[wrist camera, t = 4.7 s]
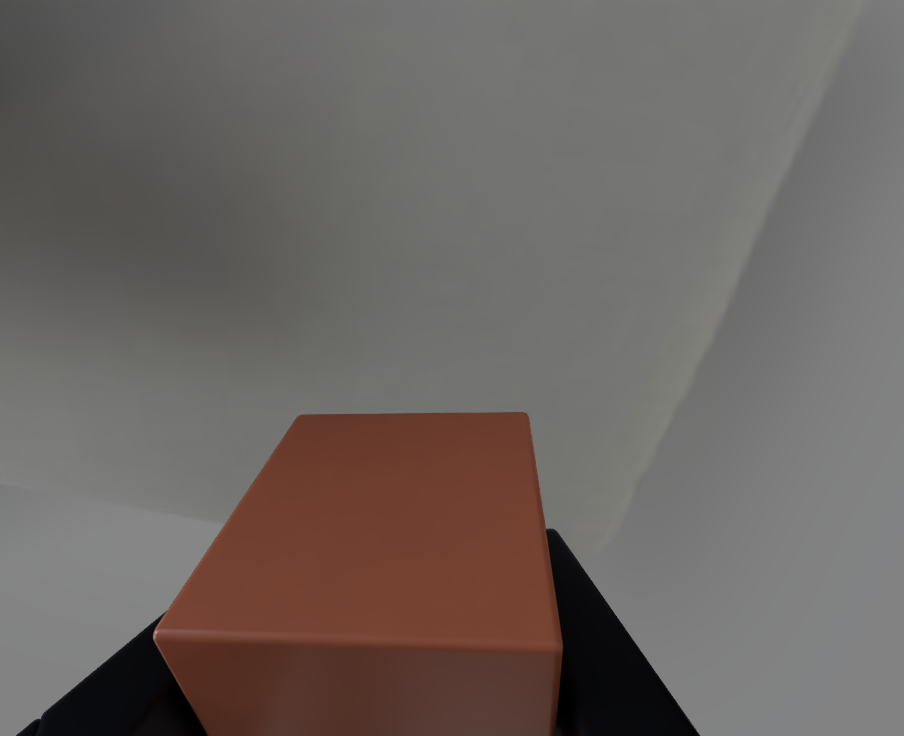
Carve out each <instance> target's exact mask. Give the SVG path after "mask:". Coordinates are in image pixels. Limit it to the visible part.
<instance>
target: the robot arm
mask: <svg viewBox="0 0 904 736" xmlns="http://www.w3.org/2000/svg"><path fill="white" fill-rule="evenodd" d="M546 535H547V541H548V548H549V555H550V561H551V568H552V575H553V581H554V588H555V595H556V601H557V608H558V615H559V621H560V628H561V635H562V641H563V654H562V665H561V676H560V687H559V698H558V709H557V720H556V732H555V736H700V735H699V733H698V732H697V731H696V729H695V728H694V726H693V725H692V723H691V722H690V721H689V719H688V718H687V716H686V715H685V714H684V712H683V711H682V709H681V708H680V706H679V705H678V703H677V702H676V701H675V699H674V698H673V696H672V695H671V693H670V692H669V691H668V689H667V688H666V686H665V685H664V683H663V682H662V681H661V679H660V678H659V676H658V675H657V673H656V672H655V671H654V669H653V668H652V666H651V665H650V664H649V662H648V661H647V659H646V658H645V656H644V655H643V653H642V652H641V651H640V649H639V648H638V646H637V645H636V643H635V642H634V641H633V639H632V638H631V636H630V635H629V633H628V632H627V631H626V629H625V628H624V626H623V625H622V623H621V622H620V621H619V619H618V618H617V616H616V615H615V613H614V612H613V611H612V609H611V608H610V606H609V605H608V603H607V602H606V601H605V599H604V598H603V596H602V595H601V593H600V592H599V591H598V589H597V588H596V586H595V585H594V583H593V582H592V580H591V579H590V578H589V576H588V575H587V573H586V572H585V571H584V569H583V568H582V566H581V565H580V563H579V562H578V560H577V559H576V558H575V556H574V555H573V553H572V552H571V550H570V549H569V548H568V546H567V545H566V543H565V542H564V540H563V539H562V538H561V536H560V535H559V533H558V532H557V531H556V530H554V529H546ZM166 612H167V611H166ZM166 612H165V613H166ZM165 613H164V614H162V615H161V616H160V617H159V618H158V619H156V620H155V621H154V622H153V623H151V624H150V625H149V626H148V627H147V628H145V629H144V630H143V631H142V632H141V633H139V634H138V635H137V636H136V637H135V638H133V639H132V640H131V641H130V642H129V643H127V644H126V645H125V646H124V647H123V648H121V649H120V650H119V651H118V652H117V653H115V654H114V655H113V656H112V657H110V658H109V659H108V660H107V661H106V662H104V663H103V664H102V665H101V666H100V667H99V668H97V669H96V670H95V671H94V672H92V673H91V674H90V675H89V676H88V677H86V678H85V679H84V680H83V681H82V682H80V683H79V684H78V685H77V686H76V687H74V688H73V689H72V690H71V691H70V692H68V693H67V694H66V695H65V696H63V697H62V698H61V699H60V700H59V701H58V702H56V703H55V704H54V705H53V706H51V707H50V708H49V709H48V710H47V711H46V712H44V713H43V715H42V717H41V719H36V720H34V721H33V722H32V723H31V724H29V725H28V726H27V727H26V728H25V729H24V730H22V731H21V732H20V733H19V734H17V735H16V736H207V734H206V732H205V730H204V729H203V727H202V725H201V723H200V722H199V720H198V718H197V716H196V714H195V713H194V711H193V709H192V707H191V706H190V704H189V702H188V700H187V698H186V697H185V695H184V693H183V691H182V690H181V688H180V686H179V684H178V683H177V681H176V679H175V677H174V675H173V674H172V672H171V670H170V668H169V667H168V665H167V663H166V661H165V659H164V658H163V656H162V654H161V652H160V651H159V649H158V647H157V645H156V644H155V642H154V640H153V634H154V631H155V628H156V627H157V625H158V624H159V622H160V621H161V619H162V618H163V616H164V615H165Z"/></svg>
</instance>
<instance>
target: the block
mask: <svg viewBox="0 0 904 736" xmlns="http://www.w3.org/2000/svg"><path fill="white" fill-rule="evenodd" d="M153 640H154V642H155V644H156V645H157V647H158V649H159V651H160V652H161V654H162V656H163V658H164V659H165V661H166V663H167V665H168V667H169V668H170V670H171V672H172V674H173V675H174V677H175V679H176V681H177V683H178V684H179V686H180V688H181V690H182V691H183V693H184V695H185V697H186V698H187V700H188V702H189V704H190V706H191V707H192V709H193V711H194V713H195V714H196V716H197V718H198V720H199V722H200V723H201V725H202V727H203V729H204V730H205V732H206V734H207V736H555V732H556V720H557V709H558V698H559V687H560V676H561V665H562V654H563V641H562V635H561V628H560V621H559V615H558V608H557V601H556V595H555V588H554V581H553V575H552V568H551V561H550V555H549V548H548V541H547V535H546V528H545V521H544V515H543V508H542V501H541V495H540V488H539V481H538V475H537V468H536V461H535V455H534V448H533V441H532V435H531V428H530V421H529V417H528V415H527V413H524V412H504V413H406V414H307V415H299V416H297V417H296V419H295V420H294V422H293V423H292V425H291V426H290V428H289V429H288V431H287V432H286V434H285V435H284V437H283V438H282V440H281V441H280V443H279V444H278V446H277V447H276V449H275V450H274V452H273V453H272V455H271V456H270V458H269V459H268V461H267V462H266V464H265V465H264V467H263V468H262V470H261V471H260V473H259V474H258V476H257V477H256V479H255V480H254V482H253V483H252V485H251V486H250V488H249V489H248V491H247V492H246V494H245V495H244V497H243V498H242V500H241V501H240V503H239V504H238V506H237V507H236V509H235V510H234V512H233V513H232V515H231V516H230V518H229V519H228V521H227V522H226V524H225V525H224V527H223V528H222V530H221V531H220V532H219V534H218V536H217V537H216V538H215V540H214V542H213V543H212V544H211V546H210V548H209V549H208V550H207V552H206V554H205V555H204V556H203V558H202V560H201V561H200V562H199V564H198V566H197V567H196V568H195V570H194V571H193V573H192V574H191V576H190V577H189V579H188V580H187V582H186V583H185V585H184V586H183V588H182V589H181V591H180V592H179V594H178V595H177V597H176V598H175V600H174V601H173V603H172V604H171V606H170V607H169V609H168V610H167V612H166V613H165V615H164V616H163V618H162V619H161V621H160V622H159V624H158V625H157V627H156V628H155V631H154V634H153Z"/></svg>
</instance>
